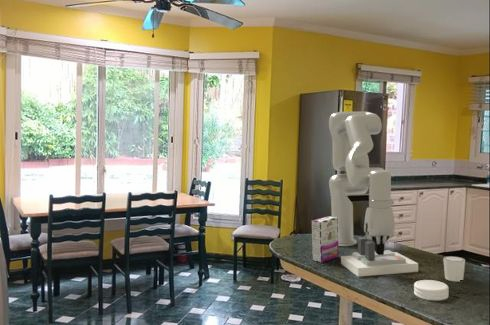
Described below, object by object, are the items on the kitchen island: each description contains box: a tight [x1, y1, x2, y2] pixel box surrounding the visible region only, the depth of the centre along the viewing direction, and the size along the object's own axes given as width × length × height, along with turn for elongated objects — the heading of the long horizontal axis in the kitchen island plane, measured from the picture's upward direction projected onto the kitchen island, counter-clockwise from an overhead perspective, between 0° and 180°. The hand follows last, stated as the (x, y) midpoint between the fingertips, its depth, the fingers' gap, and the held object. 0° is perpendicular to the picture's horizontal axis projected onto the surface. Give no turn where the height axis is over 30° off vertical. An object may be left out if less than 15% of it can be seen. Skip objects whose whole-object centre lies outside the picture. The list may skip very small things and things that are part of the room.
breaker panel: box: [340, 236, 419, 277], centre depth 173 cm, size 16×23×10 cm
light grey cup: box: [442, 255, 466, 282], centre depth 158 cm, size 7×7×7 cm
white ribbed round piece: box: [413, 279, 450, 302], centre depth 144 cm, size 10×10×4 cm
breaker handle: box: [365, 242, 375, 260], centre depth 168 cm, size 3×2×6 cm
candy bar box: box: [310, 215, 340, 263], centre depth 186 cm, size 11×5×16 cm, turn 131°
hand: (379, 253), depth 169 cm, fingers closed
